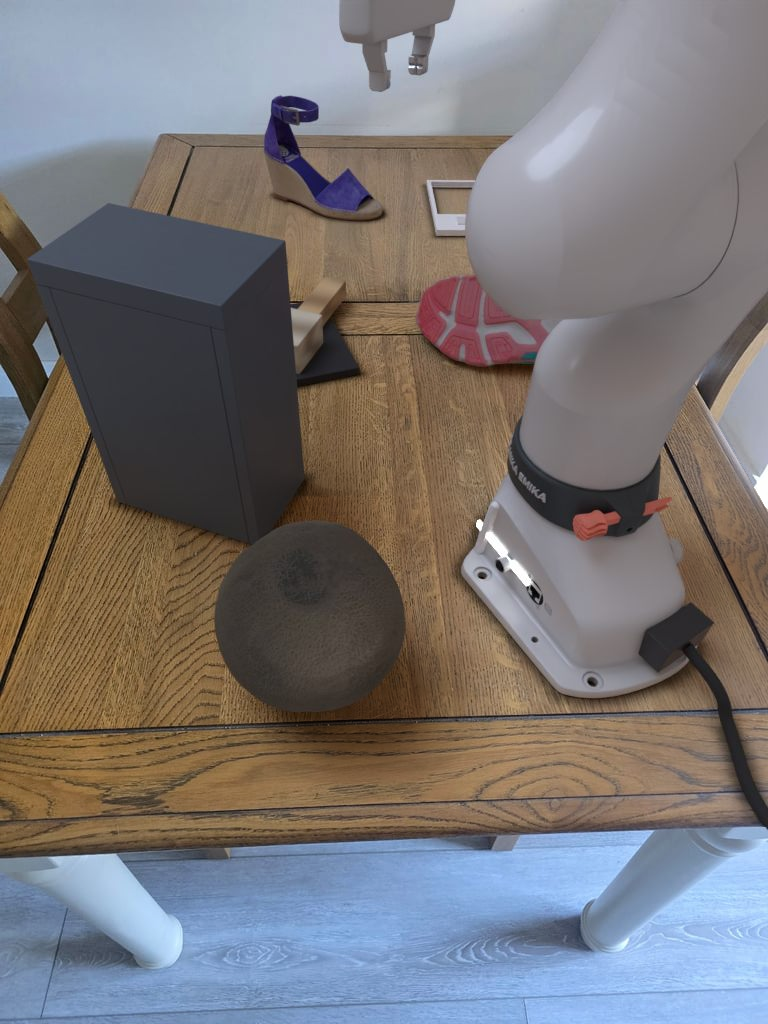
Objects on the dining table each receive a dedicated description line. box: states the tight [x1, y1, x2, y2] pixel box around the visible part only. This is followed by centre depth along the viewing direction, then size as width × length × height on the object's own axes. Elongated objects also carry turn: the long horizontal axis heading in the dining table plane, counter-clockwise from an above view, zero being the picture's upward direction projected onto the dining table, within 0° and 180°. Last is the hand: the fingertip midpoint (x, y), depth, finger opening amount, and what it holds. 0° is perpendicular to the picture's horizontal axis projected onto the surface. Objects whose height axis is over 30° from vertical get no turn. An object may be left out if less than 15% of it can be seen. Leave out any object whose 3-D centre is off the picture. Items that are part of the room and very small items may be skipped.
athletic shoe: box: [414, 274, 562, 368], centre depth 88 cm, size 27×9×12 cm
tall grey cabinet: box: [26, 202, 306, 546], centre depth 62 cm, size 10×16×26 cm, turn 70°
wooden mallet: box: [291, 275, 347, 374], centre depth 89 cm, size 18×6×4 cm, turn 160°
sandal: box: [263, 94, 384, 222], centre depth 110 cm, size 8×20×15 cm, turn 60°
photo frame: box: [425, 179, 476, 237], centre depth 115 cm, size 15×1×18 cm
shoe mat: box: [290, 301, 360, 387], centre depth 89 cm, size 16×10×1 cm, turn 20°
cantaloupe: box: [213, 520, 407, 713], centre depth 53 cm, size 14×14×15 cm
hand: (399, 81), depth 76 cm, fingers open, 8 cm apart
